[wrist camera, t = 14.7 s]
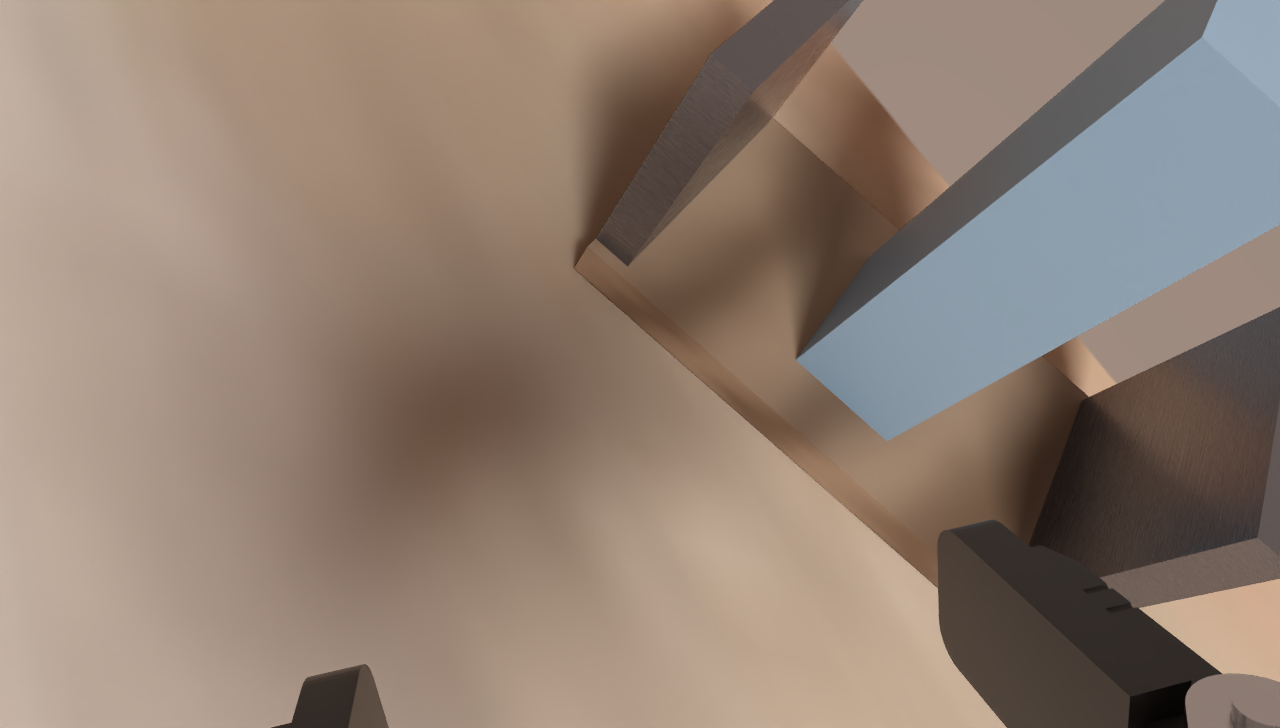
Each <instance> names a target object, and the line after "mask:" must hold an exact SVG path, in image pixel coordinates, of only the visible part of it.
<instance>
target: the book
mask: <svg viewBox="0 0 1280 728" xmlns="http://www.w3.org/2000/svg"><path fill="white" fill-rule="evenodd" d="M1279 224H1280V0H1165V1H1164V2H1163V3H1162V4H1161V5H1159V6H1158V7H1157V8H1156V9H1155V10H1154V11H1153V12H1151V13H1150V14H1149V15H1148V16H1147V17H1146V18H1145V19H1143V20H1142V21H1141V22H1140V23H1139V24H1137V26H1135V27H1134V28H1133V29H1132V30H1131V31H1129V32H1128V33H1127V34H1126V35H1125V36H1124V37H1122V38H1121V39H1120V40H1119V41H1118V42H1117V43H1116V44H1114V45H1113V46H1112V47H1111V48H1110V49H1109V50H1108V51H1106V52H1105V53H1104V54H1103V55H1102V56H1101V57H1099V58H1098V59H1097V60H1096V61H1095V62H1094V63H1093V64H1091V65H1090V66H1089V67H1088V68H1087V69H1086V70H1084V71H1083V72H1082V73H1081V74H1080V75H1079V76H1077V77H1076V78H1075V79H1074V80H1073V81H1072V82H1071V83H1069V84H1068V85H1067V86H1066V87H1065V88H1064V89H1062V90H1061V91H1060V92H1059V93H1058V94H1057V95H1056V96H1054V97H1053V98H1052V99H1051V100H1050V101H1049V102H1047V103H1046V104H1045V105H1044V106H1043V107H1042V108H1040V110H1038V111H1037V112H1036V113H1035V114H1034V115H1032V116H1031V117H1030V118H1029V119H1028V120H1027V121H1026V122H1024V123H1023V124H1022V125H1021V126H1020V127H1019V128H1017V129H1016V130H1015V131H1014V132H1013V133H1012V134H1010V135H1009V136H1008V137H1007V138H1006V139H1005V140H1004V141H1002V142H1001V143H1000V144H999V145H998V146H997V147H995V148H994V149H993V150H992V151H991V152H990V153H989V154H988V155H986V156H985V157H984V158H983V159H982V160H981V161H980V162H978V163H977V164H976V165H975V166H974V167H972V168H971V169H970V170H969V171H968V172H967V173H965V174H964V175H963V176H962V177H961V178H960V179H959V180H957V181H956V182H955V183H954V184H953V185H952V186H950V187H949V188H948V189H947V190H946V191H945V192H944V193H942V194H941V195H940V196H939V197H938V198H937V199H935V200H934V201H933V202H932V203H931V204H930V205H929V206H927V207H926V208H925V209H924V210H923V211H922V212H920V213H919V214H918V215H917V216H916V217H915V218H914V219H912V220H911V221H910V222H909V223H908V224H907V225H905V226H904V227H903V228H902V229H901V230H900V231H899V232H897V233H896V234H895V235H894V236H893V237H892V238H890V239H889V240H888V241H887V242H886V243H885V244H884V245H882V246H881V247H880V248H879V249H878V250H877V251H875V252H874V253H873V254H872V255H871V256H870V257H869V258H868V260H867V261H866V262H865V264H864V265H863V267H862V268H861V269H860V271H859V272H858V274H857V275H856V276H855V278H854V279H853V281H852V282H851V283H850V285H849V286H848V288H847V289H846V290H845V292H844V293H843V295H842V296H841V297H840V299H839V300H838V302H837V303H836V304H835V306H834V307H833V308H832V310H831V311H830V313H829V314H828V315H827V317H826V318H825V320H824V321H823V322H822V324H821V325H820V327H819V328H818V329H817V331H816V332H815V334H814V335H813V336H812V338H811V339H810V341H809V342H808V343H807V345H806V346H805V348H804V349H803V350H802V352H801V353H800V355H799V356H798V357H797V359H796V361H797V362H799V363H800V364H801V365H802V366H803V367H804V368H805V369H806V370H807V371H809V372H810V373H811V374H812V375H813V376H814V377H815V378H816V379H818V380H819V381H820V382H821V383H822V384H823V385H824V386H825V387H827V388H828V389H829V390H830V391H831V392H832V393H833V394H834V395H835V396H837V397H838V398H839V399H840V400H841V401H842V402H843V403H844V404H846V405H847V406H848V407H849V408H850V409H851V410H852V411H853V412H855V413H856V414H857V415H858V416H859V417H860V418H861V419H862V420H863V421H865V422H866V423H867V424H868V425H869V426H870V427H871V428H872V429H874V430H875V431H876V432H877V433H878V434H879V435H880V436H881V437H883V438H884V439H885V440H886V441H888V440H890V439H892V438H894V437H896V436H898V435H899V434H901V433H903V432H905V431H907V430H908V429H910V428H912V427H914V426H916V425H917V424H919V423H921V422H923V421H925V420H926V419H928V418H930V417H932V416H934V415H936V414H937V413H939V412H941V411H943V410H945V409H946V408H948V407H950V406H952V405H954V404H955V403H957V402H959V401H961V400H963V399H965V398H966V397H968V396H970V395H972V394H974V393H975V392H977V391H979V390H981V389H983V388H984V387H986V386H988V385H990V384H992V383H993V382H995V381H997V380H999V379H1001V378H1003V377H1004V376H1006V375H1008V374H1010V373H1012V372H1013V371H1015V370H1017V369H1019V368H1021V367H1022V366H1024V365H1026V364H1028V363H1030V362H1031V361H1033V360H1035V359H1037V358H1039V357H1041V356H1042V355H1044V354H1046V353H1048V352H1050V351H1051V350H1053V349H1055V348H1057V347H1059V346H1060V345H1062V344H1064V343H1066V342H1068V341H1069V340H1071V339H1073V338H1075V337H1077V336H1079V335H1080V334H1082V333H1084V332H1086V331H1087V330H1089V329H1091V328H1093V327H1095V326H1097V325H1098V324H1100V323H1102V322H1104V321H1106V320H1107V319H1109V318H1111V317H1113V316H1115V315H1116V314H1118V313H1120V312H1122V311H1124V310H1126V309H1127V308H1129V307H1131V306H1133V305H1134V304H1136V303H1138V302H1140V301H1142V300H1144V299H1146V298H1147V297H1149V296H1151V295H1153V294H1155V293H1156V292H1158V291H1160V290H1162V289H1164V288H1165V287H1167V286H1169V285H1171V284H1173V283H1174V282H1176V281H1178V280H1180V279H1182V278H1183V277H1185V276H1187V275H1189V274H1191V273H1192V272H1194V271H1196V270H1198V269H1200V268H1201V267H1203V266H1205V265H1207V264H1209V263H1211V262H1212V261H1214V260H1216V259H1218V258H1220V257H1222V256H1223V255H1225V254H1227V253H1229V252H1231V251H1232V250H1234V249H1236V248H1238V247H1240V246H1241V245H1243V244H1245V243H1247V242H1249V241H1250V240H1252V239H1254V238H1256V237H1257V236H1260V235H1261V234H1263V233H1265V232H1267V231H1268V230H1270V229H1272V228H1274V227H1276V226H1278V225H1279Z"/></svg>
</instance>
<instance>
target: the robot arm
mask: <svg viewBox="0 0 1280 728" xmlns="http://www.w3.org/2000/svg"><path fill="white" fill-rule="evenodd" d="M937 558H938V596H939V624H940V630H941V634H942V638H943V641H944V644H945V647H946V649H947V651H948V654H949V656H950V657H951V659H952V661H953V663H954V664H955V666H956V667H957V668H958V669H959V671H960V672H961V673H962V674H963V675H964V677H965V678H966V679H967V680H968V681H969V683H970V684H971V685H972V686H973V687H974V689H975V690H976V691H977V692H978V693H979V695H980V696H981V697H982V698H983V699H984V701H985V702H986V703H987V704H988V705H989V707H990V708H991V709H992V710H993V711H994V713H995V714H996V715H997V716H998V717H999V719H1000V720H1001V721H1002V722H1003V723H1004V725H1005V726H1006V727H1007V728H1280V682H1277V681H1274V680H1271V679H1268V678H1263V677H1258V676H1254V675H1246V674H1222V673H1221V672H1219V671H1218V670H1217V669H1215V668H1214V667H1213V666H1212V665H1210V664H1209V663H1208V662H1206V661H1205V660H1204V659H1203V658H1201V657H1200V656H1199V655H1198V654H1196V653H1195V652H1194V651H1192V650H1191V649H1190V648H1189V647H1187V646H1186V645H1185V644H1183V643H1182V642H1181V641H1180V640H1178V639H1177V638H1176V637H1175V636H1173V635H1172V634H1171V633H1169V632H1168V631H1167V630H1166V629H1164V628H1163V627H1162V626H1160V625H1159V624H1158V623H1157V622H1155V621H1154V620H1153V619H1151V618H1150V617H1149V616H1148V615H1146V614H1145V613H1144V612H1143V611H1141V610H1140V609H1139V608H1137V607H1135V608H1133V607H1132V605H1131V602H1130V601H1128V600H1127V599H1126V598H1125V597H1123V596H1122V595H1121V594H1120V593H1118V592H1117V591H1116V590H1114V589H1113V588H1111V589H1109V588H1108V586H1107V583H1105V582H1104V581H1103V580H1102V579H1100V578H1099V577H1098V576H1097V575H1095V574H1094V573H1093V572H1091V571H1090V570H1089V569H1088V568H1086V567H1085V566H1084V565H1082V564H1081V563H1080V562H1079V561H1076V560H1074V559H1072V558H1069V557H1067V556H1065V555H1062V554H1060V553H1058V552H1055V551H1053V550H1050V549H1048V548H1046V547H1043V546H1041V545H1039V546H1035V547H1030V546H1028V545H1027V544H1026V543H1025V542H1024V541H1022V540H1021V539H1020V538H1019V537H1017V536H1016V535H1015V534H1014V533H1013V532H1011V531H1010V530H1009V529H1008V528H1007V527H1005V526H1004V525H1003V524H1002V523H1000V522H999V521H996V520H987V521H983V522H979V523H974V524H970V525H966V526H962V527H957V528H953V529H949V530H944V531H942V532H941V533H940V535H939V537H938V542H937ZM272 728H389V727H388V724H387V721H386V717H385V714H384V711H383V708H382V704H381V701H380V698H379V694H378V691H377V688H376V684H375V681H374V678H373V675H372V673H371V670H370V669H369V667H368V666H367V665H366V664H363V665H359V666H354V667H350V668H346V669H341V670H337V671H333V672H329V673H324V674H320V675H316V676H311V677H307V678H306V679H305V681H304V683H303V686H302V689H301V692H300V696H299V699H298V702H297V706H296V709H295V713H294V716H293V720H292V723H288V724H284V725H280V726H276V727H272Z"/></svg>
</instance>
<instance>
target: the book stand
mask: <svg viewBox="0 0 1280 728" xmlns="http://www.w3.org/2000/svg"><path fill="white" fill-rule="evenodd" d="M899 231H900V230H899V229H898V228H897V227H896V226H895V225H894V224H893V223H891V222H890V221H889V220H888V219H887V218H886V217H885V216H884V215H882V214H881V213H880V212H879V211H878V210H877V209H876V208H875V207H873V206H872V205H871V204H870V203H869V202H868V201H867V200H865V199H864V198H863V197H862V196H861V195H860V194H859V193H858V192H856V191H855V190H854V189H853V188H852V187H851V186H850V185H848V184H847V183H846V182H845V181H844V180H843V179H842V178H841V177H839V176H838V175H837V174H836V173H835V172H834V171H833V170H832V169H830V168H829V167H828V166H827V165H826V164H825V163H824V162H822V161H821V160H820V159H819V158H818V157H817V156H816V155H815V154H813V153H812V152H811V151H810V150H809V149H808V148H807V147H806V146H804V145H803V144H802V143H801V142H800V141H799V140H798V139H796V138H795V137H794V136H793V135H792V134H791V133H790V132H789V131H787V130H786V129H785V128H784V127H783V126H782V125H781V124H779V123H778V122H777V121H776V120H775V119H774V118H772V119H771V120H770V121H769V123H768V124H767V125H766V126H765V127H764V128H763V129H762V130H761V131H760V132H759V133H758V134H757V135H756V136H755V137H754V138H753V139H752V140H751V141H750V142H749V143H748V144H747V145H746V146H745V147H744V148H743V149H742V150H741V151H740V152H739V154H738V155H737V156H736V157H735V158H734V159H733V160H732V161H731V162H730V163H729V164H728V165H727V166H726V167H725V168H724V169H723V170H722V171H721V172H720V173H719V174H718V175H717V176H716V177H715V178H714V179H713V180H712V181H711V182H710V183H709V184H708V185H707V186H706V187H705V188H704V189H703V190H702V191H701V192H700V193H699V194H698V195H697V196H696V197H695V198H694V199H693V200H692V201H691V203H690V204H689V205H688V206H687V207H686V208H685V209H684V210H683V211H682V212H681V213H680V214H679V215H678V216H677V217H676V218H675V219H674V220H673V221H672V222H671V223H670V224H669V225H668V226H667V227H666V228H665V229H664V230H663V231H662V232H661V233H660V234H659V235H658V236H657V237H656V238H655V239H654V240H653V241H652V242H651V243H650V244H649V245H648V246H647V247H646V248H645V249H644V250H643V251H642V253H641V254H640V255H639V256H638V257H637V258H636V259H635V260H634V261H633V262H632V263H631V264H630V265H629V266H628V267H627V266H626V265H625V264H624V263H623V262H622V261H621V260H619V259H618V258H617V257H616V256H615V255H614V254H613V253H611V252H610V251H609V250H608V249H607V248H606V247H605V246H603V245H602V244H601V243H600V242H599V241H598V240H597V239H595V240H594V241H593V242H592V243H591V244H589V245H588V246H587V248H586V250H585V251H584V253H583V255H582V256H581V258H580V259H579V261H578V263H577V264H576V266H575V267H574V269H575V270H576V271H578V272H579V273H580V274H581V275H582V276H583V277H584V278H585V279H587V280H588V281H589V282H590V283H591V284H592V285H593V286H595V287H596V288H597V289H598V290H599V291H600V292H601V293H603V294H604V295H605V296H606V297H607V298H608V299H609V300H611V301H612V302H613V303H614V304H615V305H616V306H617V307H619V308H620V309H621V310H622V311H623V312H624V313H625V314H626V315H628V316H629V317H630V318H631V319H632V320H633V321H634V322H636V323H637V324H638V325H639V326H640V327H641V328H642V329H644V330H645V331H646V332H647V333H648V334H649V335H650V336H652V337H653V338H654V339H655V340H656V341H657V342H658V343H660V344H661V345H662V346H663V347H664V348H665V349H666V350H667V351H669V352H670V353H671V354H672V355H673V356H674V357H675V358H677V359H678V360H679V361H680V362H681V363H682V364H683V365H685V366H686V367H687V368H688V369H689V370H690V371H691V372H693V373H694V374H695V375H696V376H697V377H698V378H699V379H701V380H702V381H703V382H704V383H705V384H706V385H707V386H708V387H710V388H711V389H712V390H713V391H714V392H715V393H716V394H718V395H719V396H720V397H721V398H722V399H723V400H724V401H726V402H727V403H728V404H729V405H730V406H731V407H732V408H734V409H735V410H736V411H737V412H738V413H739V414H740V415H742V416H743V417H744V418H745V419H746V420H747V421H748V422H750V423H751V424H752V425H753V426H754V427H755V428H756V429H757V430H759V431H760V432H761V433H762V434H763V435H764V436H765V437H767V438H768V439H769V440H770V441H771V442H772V443H773V444H775V445H776V446H777V447H778V448H779V449H780V450H781V451H783V452H784V453H785V454H786V455H787V456H788V457H789V458H791V459H792V460H793V461H794V462H795V463H796V464H797V465H798V466H800V467H801V468H802V469H803V470H804V471H805V472H806V473H808V474H809V475H810V476H811V477H812V478H813V479H814V480H816V481H817V482H818V483H819V484H820V485H821V486H822V487H824V488H825V489H826V490H827V491H828V492H829V493H830V494H832V495H833V496H834V497H835V498H836V499H837V500H838V501H839V502H841V503H842V504H843V505H844V506H845V507H846V508H847V509H849V510H850V511H851V512H852V513H853V514H854V515H855V516H857V517H858V518H859V519H860V520H861V521H862V522H863V523H865V524H866V525H867V526H868V527H869V528H870V529H871V530H873V531H874V532H875V533H876V534H877V535H878V536H879V537H880V538H882V539H883V540H884V541H885V542H886V543H887V544H888V545H890V546H891V547H892V548H893V549H894V550H895V551H896V552H898V553H899V554H900V555H901V556H902V557H903V558H904V559H906V560H907V561H908V562H909V563H910V564H911V565H912V566H914V567H915V568H916V569H917V570H918V571H919V572H920V573H921V574H923V575H924V576H925V577H926V578H927V579H928V580H929V581H931V582H932V583H933V584H934V585H935V586H936V587H937V588H938V558H937V542H938V537H939V535H940V533H941V532H942V531H944V530H949V529H953V528H957V527H962V526H966V525H970V524H974V523H979V522H983V521H987V520H996V521H999V522H1000V523H1002V524H1003V525H1004V526H1005V527H1007V528H1008V529H1009V530H1010V531H1011V532H1013V533H1014V534H1015V535H1016V536H1017V537H1019V538H1020V539H1021V540H1022V541H1024V542H1025V543H1026V544H1027V545H1029V543H1030V540H1031V537H1032V534H1033V532H1034V529H1035V526H1036V524H1037V521H1038V518H1039V515H1040V513H1041V510H1042V507H1043V505H1044V502H1045V499H1046V496H1047V494H1048V491H1049V488H1050V486H1051V483H1052V480H1053V477H1054V475H1055V472H1056V469H1057V467H1058V464H1059V461H1060V458H1061V456H1062V453H1063V450H1064V448H1065V445H1066V442H1067V439H1068V437H1069V434H1070V431H1071V429H1072V426H1073V423H1074V420H1075V418H1076V415H1077V412H1078V410H1079V407H1080V404H1081V401H1082V400H1084V399H1086V398H1088V396H1087V395H1086V394H1085V393H1084V392H1083V391H1082V390H1080V389H1079V388H1078V387H1077V386H1076V385H1075V384H1074V383H1072V382H1071V381H1070V380H1069V379H1068V378H1067V377H1066V376H1065V375H1063V374H1062V373H1061V372H1060V371H1059V370H1058V369H1057V368H1055V367H1054V366H1053V365H1052V364H1051V363H1050V362H1049V361H1048V360H1046V359H1045V358H1044V357H1043V356H1041V357H1039V358H1037V359H1035V360H1033V361H1031V362H1030V363H1028V364H1026V365H1024V366H1022V367H1021V368H1019V369H1017V370H1015V371H1013V372H1012V373H1010V374H1008V375H1006V376H1004V377H1003V378H1001V379H999V380H997V381H995V382H993V383H992V384H990V385H988V386H986V387H984V388H983V389H981V390H979V391H977V392H975V393H974V394H972V395H970V396H968V397H966V398H965V399H963V400H961V401H959V402H957V403H955V404H954V405H952V406H950V407H948V408H946V409H945V410H943V411H941V412H939V413H937V414H936V415H934V416H932V417H930V418H928V419H926V420H925V421H923V422H921V423H919V424H917V425H916V426H914V427H912V428H910V429H908V430H907V431H905V432H903V433H901V434H899V435H898V436H896V437H894V438H892V439H890V440H888V441H886V440H885V439H884V438H883V437H881V436H880V435H879V434H878V433H877V432H876V431H875V430H874V429H872V428H871V427H870V426H869V425H868V424H867V423H866V422H865V421H863V420H862V419H861V418H860V417H859V416H858V415H857V414H856V413H855V412H853V411H852V410H851V409H850V408H849V407H848V406H847V405H846V404H844V403H843V402H842V401H841V400H840V399H839V398H838V397H837V396H835V395H834V394H833V393H832V392H831V391H830V390H829V389H828V388H827V387H825V386H824V385H823V384H822V383H821V382H820V381H819V380H818V379H816V378H815V377H814V376H813V375H812V374H811V373H810V372H809V371H807V370H806V369H805V368H804V367H803V366H802V365H801V364H800V363H799V362H797V361H796V359H797V357H798V356H799V355H800V353H801V352H802V350H803V349H804V348H805V346H806V345H807V343H808V342H809V341H810V339H811V338H812V336H813V335H814V334H815V332H816V331H817V329H818V328H819V327H820V325H821V324H822V322H823V321H824V320H825V318H826V317H827V315H828V314H829V313H830V311H831V310H832V308H833V307H834V306H835V304H836V303H837V302H838V300H839V299H840V297H841V296H842V295H843V293H844V292H845V290H846V289H847V288H848V286H849V285H850V283H851V282H852V281H853V279H854V278H855V276H856V275H857V274H858V272H859V271H860V269H861V268H862V267H863V265H864V264H865V262H866V261H867V260H868V258H869V257H870V256H871V255H872V254H873V253H874V252H875V251H877V250H878V249H879V248H880V247H881V246H882V245H884V244H885V243H886V242H887V241H888V240H889V239H890V238H892V237H893V236H894V235H895V234H896V233H897V232H899Z"/></svg>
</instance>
